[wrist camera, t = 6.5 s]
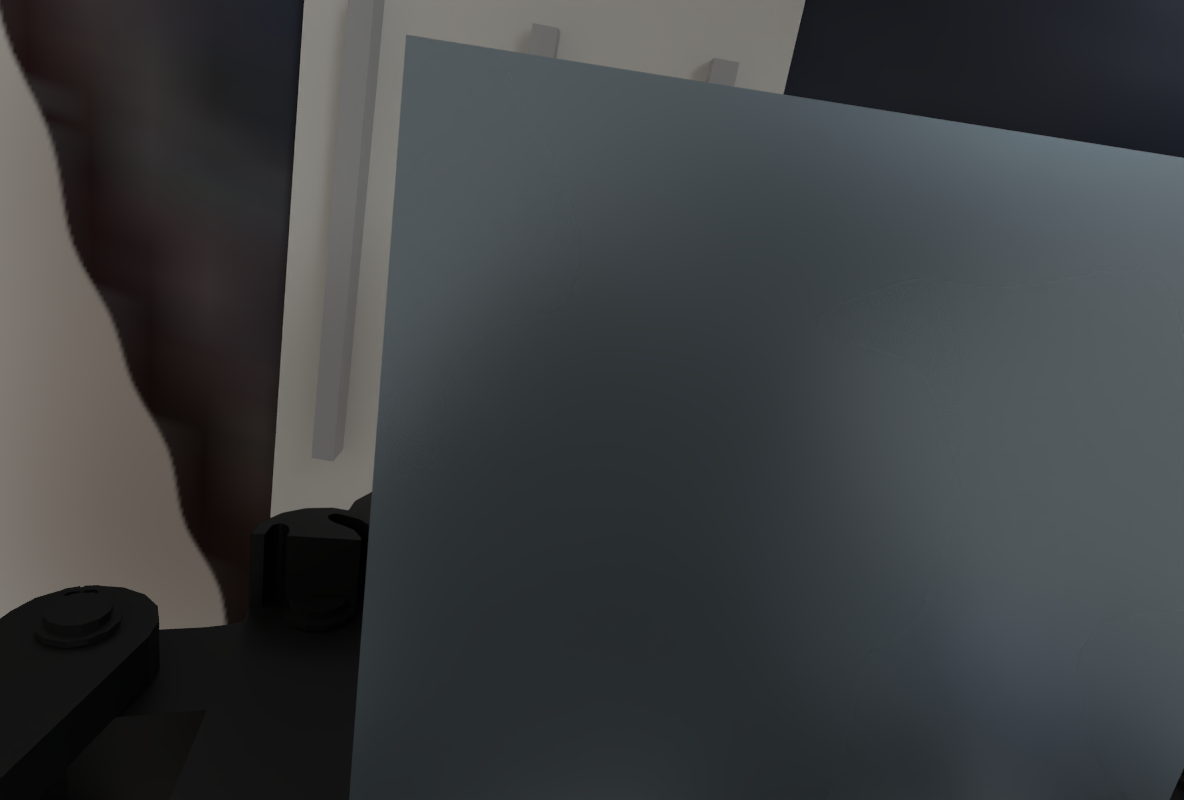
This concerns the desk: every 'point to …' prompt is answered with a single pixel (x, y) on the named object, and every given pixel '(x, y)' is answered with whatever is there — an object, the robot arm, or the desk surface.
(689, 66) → the rack
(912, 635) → the panel
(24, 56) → the desk surface
